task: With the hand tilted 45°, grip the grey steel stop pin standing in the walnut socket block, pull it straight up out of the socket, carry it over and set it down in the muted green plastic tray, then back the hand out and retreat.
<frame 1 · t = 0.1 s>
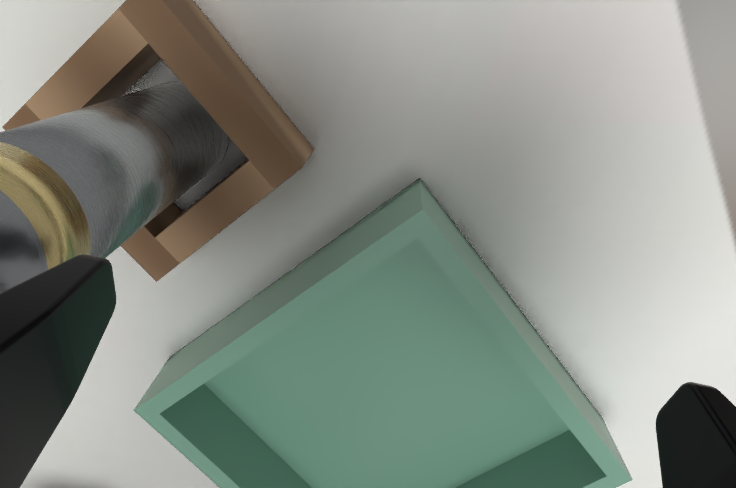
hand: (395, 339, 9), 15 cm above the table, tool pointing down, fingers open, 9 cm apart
socket block: (181, 131, 23), on the table
parts tray: (385, 387, 28), on the table
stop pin: (104, 172, 17), in the socket block
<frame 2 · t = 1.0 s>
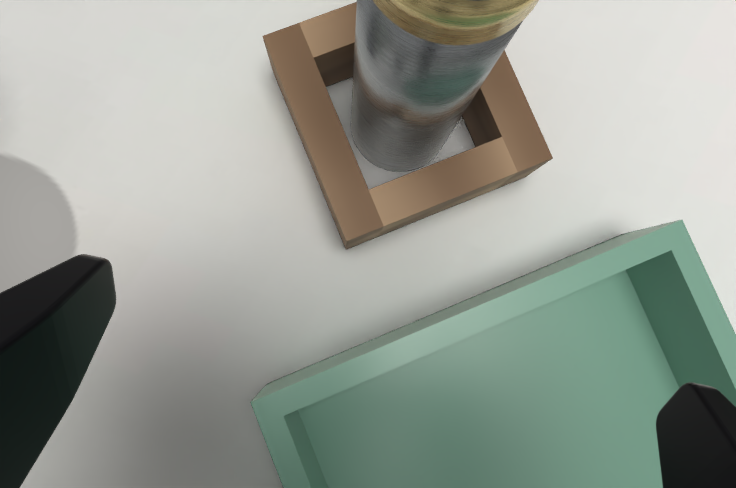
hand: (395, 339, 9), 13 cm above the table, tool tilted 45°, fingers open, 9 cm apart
socket block: (399, 124, 23), on the table
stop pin: (421, 53, 16), in the socket block
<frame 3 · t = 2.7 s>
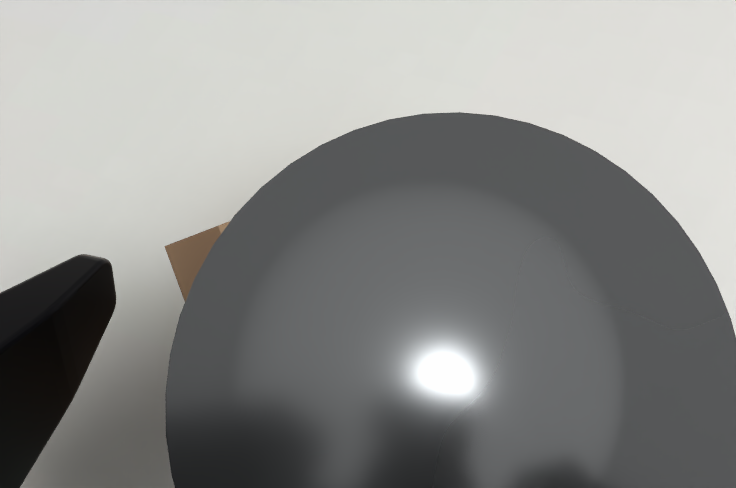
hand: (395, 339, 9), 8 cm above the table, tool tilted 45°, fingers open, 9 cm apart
socket block: (367, 331, 17), on the table
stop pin: (385, 342, 10), in the socket block
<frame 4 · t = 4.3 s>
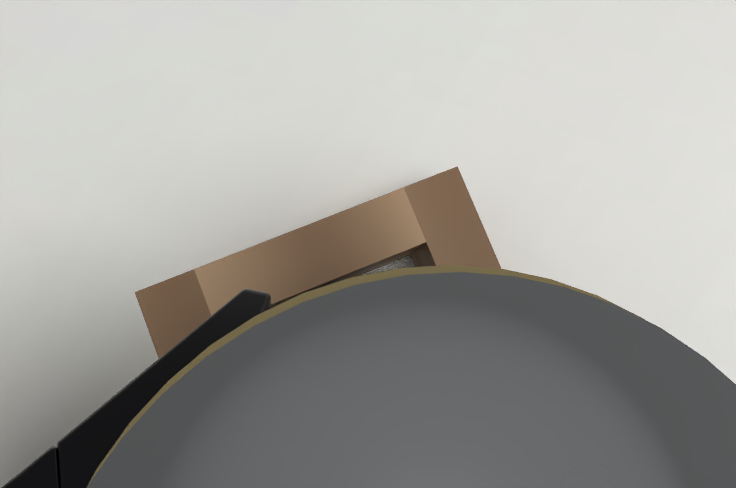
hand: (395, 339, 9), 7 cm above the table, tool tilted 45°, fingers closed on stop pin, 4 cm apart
socket block: (360, 374, 15), on the table
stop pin: (375, 421, 9), in the socket block, touching gripper
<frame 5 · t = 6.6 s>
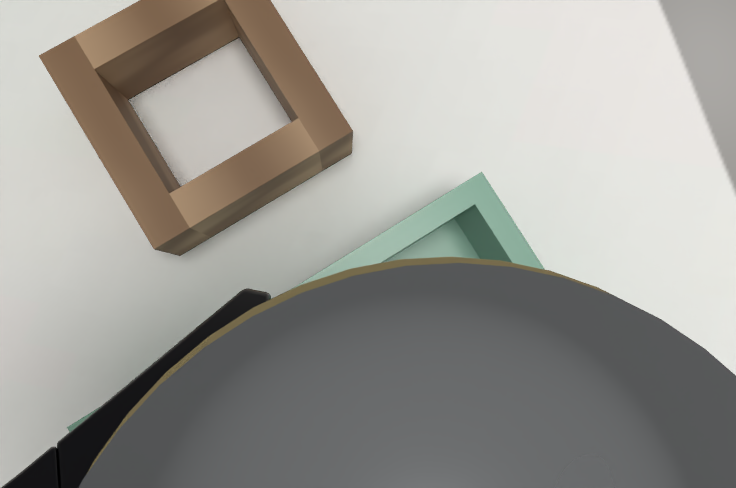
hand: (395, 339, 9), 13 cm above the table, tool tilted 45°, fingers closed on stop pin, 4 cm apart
socket block: (216, 120, 22), on the table
parts tray: (398, 466, 21), on the table
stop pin: (374, 419, 9), point 13 cm above the table, touching gripper
when the fingers open (9 cm above the table, at t = 8.8 s): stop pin stays where it is, resting on parts tray.
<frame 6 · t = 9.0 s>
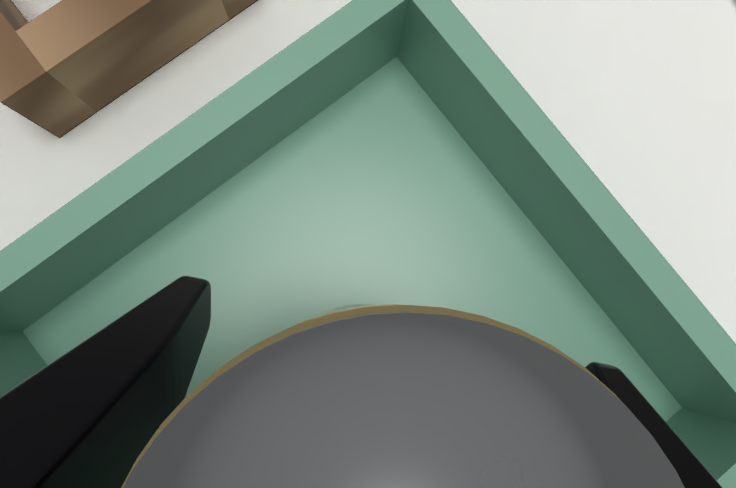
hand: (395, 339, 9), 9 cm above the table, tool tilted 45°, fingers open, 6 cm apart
parts tray: (358, 368, 17), on the table
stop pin: (367, 418, 10), in the parts tray, point 7 cm above the table
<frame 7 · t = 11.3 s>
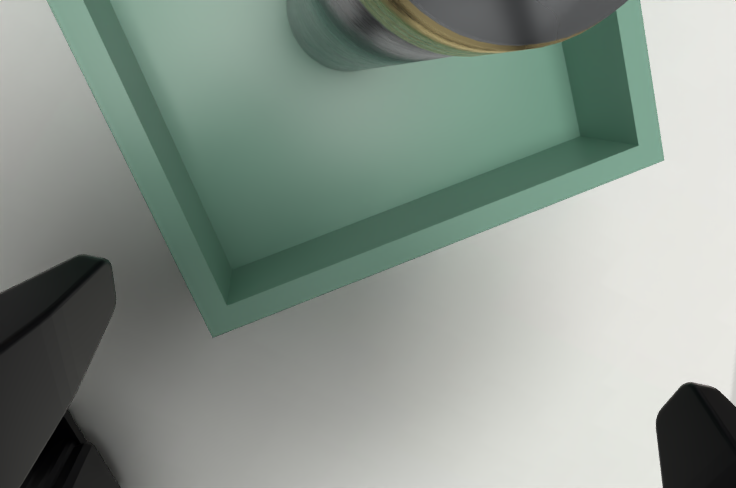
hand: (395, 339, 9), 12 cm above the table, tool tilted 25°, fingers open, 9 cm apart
parts tray: (346, 9, 19), on the table
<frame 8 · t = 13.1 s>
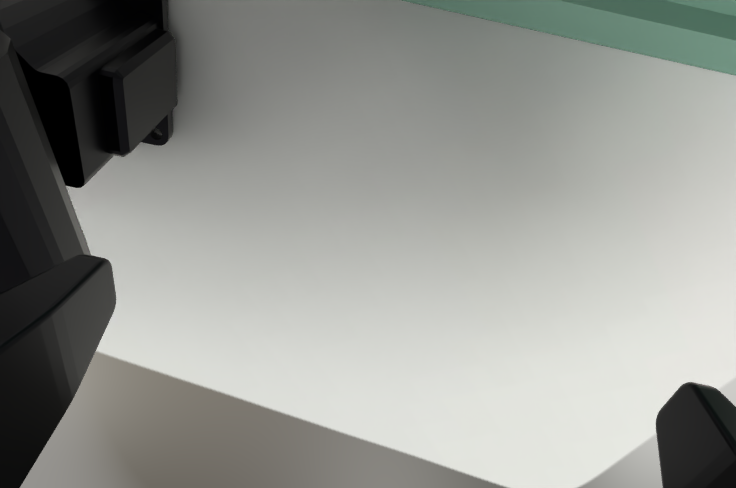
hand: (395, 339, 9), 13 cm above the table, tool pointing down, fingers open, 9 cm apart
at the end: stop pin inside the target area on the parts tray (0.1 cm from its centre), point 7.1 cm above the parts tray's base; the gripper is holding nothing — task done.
